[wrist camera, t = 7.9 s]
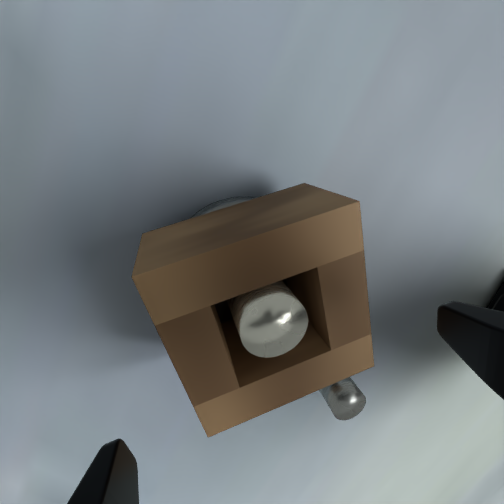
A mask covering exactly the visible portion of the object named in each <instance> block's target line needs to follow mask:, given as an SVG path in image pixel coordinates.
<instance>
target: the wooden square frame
mask: <svg viewBox="0 0 504 504" xmlns="http://www.w3.org/2000/svg"><path fill="white" fill-rule="evenodd" d="M132 279H133V281H134V283H135V285H136V288H137V290H138V292H139V294H140V296H141V298H142V300H143V302H144V304H145V306H146V308H147V311H148V313H149V315H150V317H151V319H152V321H153V323H154V325H155V327H156V329H157V332H158V334H159V336H160V338H161V340H162V342H163V344H164V346H165V348H166V350H167V353H168V355H169V357H170V359H171V361H172V363H173V365H174V367H175V369H176V371H177V373H178V376H179V378H180V380H181V382H182V384H183V386H184V388H185V390H186V392H187V394H188V397H189V399H190V401H191V403H192V405H193V407H194V409H195V411H196V413H197V415H198V418H199V420H200V422H201V424H202V426H203V428H204V430H205V432H206V434H207V436H208V437H210V436H213V435H215V434H217V433H220V432H222V431H224V430H227V429H229V428H231V427H234V426H236V425H238V424H241V423H243V422H245V421H248V420H250V419H252V418H255V417H257V416H259V415H262V414H264V413H266V412H269V411H271V410H273V409H276V408H278V407H280V406H283V405H285V404H287V403H290V402H292V401H294V400H297V399H299V398H301V397H304V396H306V395H308V394H311V393H313V392H315V391H317V390H320V389H322V388H324V387H327V386H329V385H331V384H334V383H336V382H338V381H341V380H343V379H345V378H348V377H350V376H352V375H355V374H357V373H359V372H362V371H364V370H366V369H369V368H371V367H373V366H374V359H373V348H372V337H371V325H370V314H369V303H368V291H367V280H366V269H365V257H364V246H363V235H362V223H361V212H360V201H357V200H354V199H351V198H348V197H345V196H342V195H339V194H336V193H333V192H330V191H327V190H324V189H321V188H318V187H315V186H312V185H309V184H306V183H303V184H300V185H297V186H293V187H290V188H287V189H284V190H281V191H277V192H274V193H271V194H268V195H265V196H261V197H258V198H255V199H252V200H249V201H245V202H242V203H239V204H236V205H232V206H229V207H226V208H223V209H220V210H216V211H213V212H210V213H207V214H204V215H200V216H197V217H194V218H191V219H188V220H184V221H181V222H178V223H175V224H172V225H168V226H165V227H162V228H159V229H156V230H152V231H149V232H146V233H143V234H142V237H141V241H140V245H139V249H138V253H137V257H136V261H135V265H134V269H133V273H132ZM283 279H286V280H287V285H288V288H289V289H290V290H291V292H292V293H293V294H294V295H295V297H296V298H297V299H298V300H299V302H300V303H301V304H302V305H303V307H304V308H305V310H306V312H307V316H308V326H307V330H306V332H305V334H304V336H303V338H302V339H301V341H300V342H299V343H298V344H297V345H296V346H295V347H294V348H293V349H291V350H290V351H288V352H286V353H284V354H282V355H279V356H276V357H268V358H265V357H258V356H255V355H253V354H251V353H250V352H249V351H247V350H246V348H245V347H244V346H243V344H242V341H241V339H240V336H239V333H238V330H237V328H236V325H235V322H234V320H233V319H232V320H229V321H226V322H224V323H221V322H220V319H219V316H218V313H217V311H216V308H215V305H214V304H216V303H219V302H222V301H225V300H228V299H230V298H233V297H236V296H239V295H241V294H244V293H247V292H250V291H252V290H255V289H258V288H261V287H264V286H266V285H269V284H272V283H275V282H277V281H280V280H283Z"/></svg>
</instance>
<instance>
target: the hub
mask: <svg viewBox="0 0 504 504" xmlns="http://www.w3.org/2000/svg"><path fill="white" fill-rule="evenodd" d="M252 199H255V198H252V197H235V198H228V199H224V200H221V201H218V202H215V203H213V204H211V205H208V206H207V207H205V208H203V209H202V210H200V211H199V212H197V213H196V214H195V215H193V216H192V217H191V218H194V217H197V216H200V215H204V214H207V213H210V212H213V211H216V210H220V209H223V208H226V207H229V206H232V205H236V204H239V203H242V202H245V201H249V200H252ZM191 218H190V219H191ZM214 305H215V308H216V311H217V313H218V316H219V319H220V322H221V323H224V322H226V321H229V320H232V319H233V320H234V322H235V325H236V328H237V330H238V333H239V336H240V339H241V341H242V344H243V346H244V347H245V348H246V350H247V351H249V352H250V353H251V354H253V355H255V356H258V357H265V358H268V357H276V356H279V355H282V354H284V353H286V352H288V351H290V350H291V349H293V348H294V347H295V346H296V345H297V344H298V343H299V342H300V341H301V339H302V338H303V336H304V334H305V332H306V330H307V326H308V316H307V312H306V310H305V308H304V307H303V305H302V304H301V303H300V302H299V300H298V299H297V298H296V297H295V295H294V294H293V293H292V292H291V290H290V289H289V288H288V285H287V280H286V279H283V280H280V281H277V282H275V283H272V284H269V285H266V286H264V287H261V288H258V289H255V290H252V291H250V292H247V293H244V294H241V295H239V296H236V297H233V298H230V299H228V300H225V301H222V302H219V303H216V304H214Z"/></svg>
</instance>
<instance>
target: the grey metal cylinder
mask: <svg viewBox="0 0 504 504" xmlns="http://www.w3.org/2000/svg"><path fill="white" fill-rule="evenodd" d="M319 391H320V392H321V394H322V396H323V397H324V399H325V401H326V402H327V404H328V406H329V407H330V409H331V411H332V412H333V414H334V416H335V417H336V418H337V419H339V420H348V419H351V418H353V417H355V416H356V415H358V414H359V413H360V412H361V411H362V409H363V408H364V406H365V403H366V398H365V396H364V395H363V393H362V392H361V391H360V389H359V388H358V387H357V385H356V384H355V383H354V382H353V380H352V379H351V378H350V377H348V378H345V379H343V380H341V381H338V382H336V383H334V384H331V385H329V386H327V387H324V388H322V389H320V390H319Z"/></svg>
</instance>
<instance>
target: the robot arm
mask: <svg viewBox="0 0 504 504" xmlns="http://www.w3.org/2000/svg"><path fill="white" fill-rule="evenodd" d="M437 330H438V332H439V334H440V336H441V337H442V338H443V339H444V340H445V341H446V342H447V343H448V344H449V345H450V346H451V348H452V349H453V350H454V351H455V352H456V353H457V354H458V355H459V356H460V357H461V358H462V359H463V360H464V361H465V362H466V364H467V365H468V366H469V367H470V368H471V369H472V370H473V371H474V372H475V373H476V374H477V375H478V376H479V377H480V378H481V379H482V380H483V381H484V382H485V383H486V384H487V385H488V386H489V387H490V388H491V389H492V390H493V391H494V392H496V393H497V394H498V395H499V396H500V397H501V398H502V399H503V400H504V283H503V285H502V286H501V288H500V289H499V291H498V292H497V294H496V296H495V297H494V299H493V300H492V302H491V303H490V305H489V307H488V308H483V307H479V306H474V305H470V304H465V303H461V302H456V301H450V302H448V303H445V304H443V305H440V306H439V308H438V313H437ZM67 504H139V491H138V469H137V462H136V459H135V457H134V455H133V454H132V453H131V451H130V450H129V448H128V447H127V445H126V444H125V442H124V441H123V440H122V439H116V440H114V441H112V442H109V443H107V444H105V445H103V446H102V447H101V449H100V450H99V452H98V453H97V455H96V457H95V458H94V460H93V462H92V463H91V465H90V467H89V468H88V470H87V472H86V473H85V475H84V477H83V478H82V480H81V481H80V483H79V485H78V486H77V488H76V490H75V491H74V493H73V495H72V496H71V498H70V500H69V501H68V503H67Z"/></svg>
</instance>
